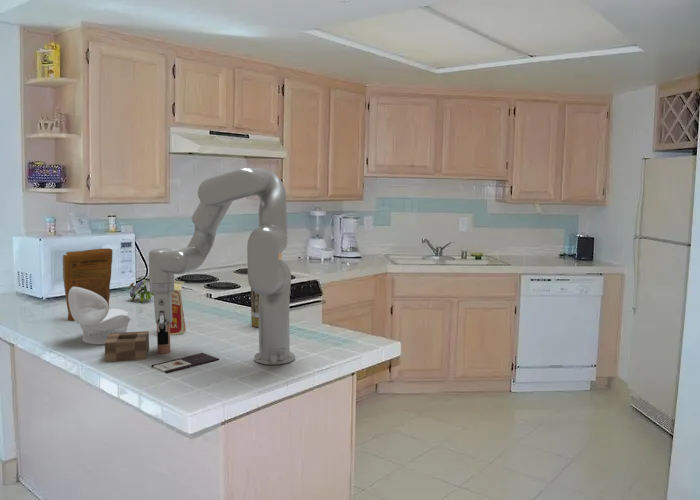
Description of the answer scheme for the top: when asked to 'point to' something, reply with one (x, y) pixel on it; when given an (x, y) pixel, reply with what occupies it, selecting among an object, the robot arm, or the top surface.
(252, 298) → the paper tube
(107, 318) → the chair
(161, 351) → the peg
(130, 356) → the socket block
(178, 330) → the milk carton
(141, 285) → the passion flower
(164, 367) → the chocolate bar
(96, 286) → the pancake mix bag
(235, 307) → the top surface
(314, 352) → the top surface
